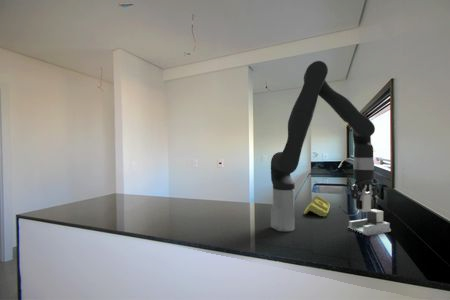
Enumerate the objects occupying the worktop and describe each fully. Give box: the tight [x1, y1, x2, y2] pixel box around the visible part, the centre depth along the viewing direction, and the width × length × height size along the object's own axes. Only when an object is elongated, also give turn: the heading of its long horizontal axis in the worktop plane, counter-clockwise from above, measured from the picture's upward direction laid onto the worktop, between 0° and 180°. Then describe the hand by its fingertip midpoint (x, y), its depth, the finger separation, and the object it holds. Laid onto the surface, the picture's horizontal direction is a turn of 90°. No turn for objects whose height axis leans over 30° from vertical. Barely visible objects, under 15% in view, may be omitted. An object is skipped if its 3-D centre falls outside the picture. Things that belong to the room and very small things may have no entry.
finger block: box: [354, 193, 372, 213], centre depth 98 cm, size 5×4×7 cm
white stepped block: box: [347, 208, 392, 236], centre depth 98 cm, size 14×9×8 cm, turn 112°
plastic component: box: [302, 195, 331, 217], centre depth 127 cm, size 20×7×10 cm
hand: (363, 208), depth 98 cm, fingers closed on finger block, 4 cm apart
